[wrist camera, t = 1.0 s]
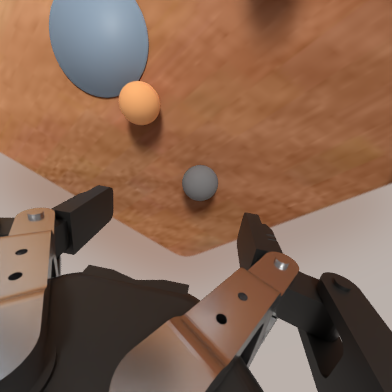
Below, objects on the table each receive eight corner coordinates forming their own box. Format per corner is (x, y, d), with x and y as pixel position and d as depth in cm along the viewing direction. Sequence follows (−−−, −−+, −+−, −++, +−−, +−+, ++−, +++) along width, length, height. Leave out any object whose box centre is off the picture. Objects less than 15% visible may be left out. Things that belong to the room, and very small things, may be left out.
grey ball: (223, 168, 32) (224, 178, 27) (210, 197, 35) (209, 211, 29) (191, 156, 32) (186, 164, 27) (180, 186, 34) (174, 198, 29)
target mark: (160, -1, 25) (160, -2, 25) (135, 111, 31) (135, 111, 30) (54, -46, 25) (52, -47, 25) (47, 77, 30) (46, 76, 30)
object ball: (169, 92, 29) (159, 87, 24) (158, 129, 31) (147, 132, 26) (133, 78, 29) (115, 70, 24) (125, 116, 31) (107, 116, 26)
